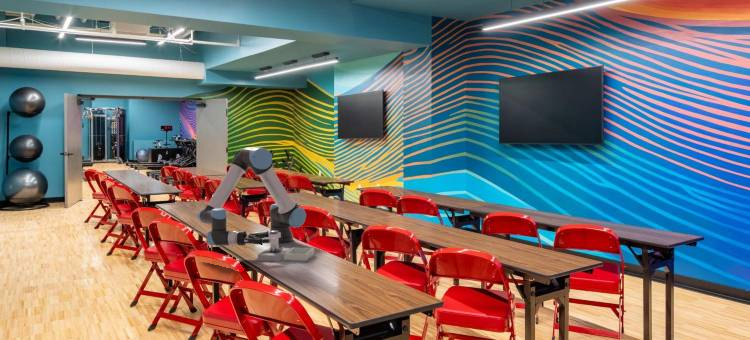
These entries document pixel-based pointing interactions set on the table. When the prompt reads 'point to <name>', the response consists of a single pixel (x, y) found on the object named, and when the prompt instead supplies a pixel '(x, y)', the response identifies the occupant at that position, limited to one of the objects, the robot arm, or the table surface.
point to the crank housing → (272, 255)
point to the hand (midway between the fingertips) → (278, 237)
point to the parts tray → (299, 255)
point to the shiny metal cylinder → (274, 246)
